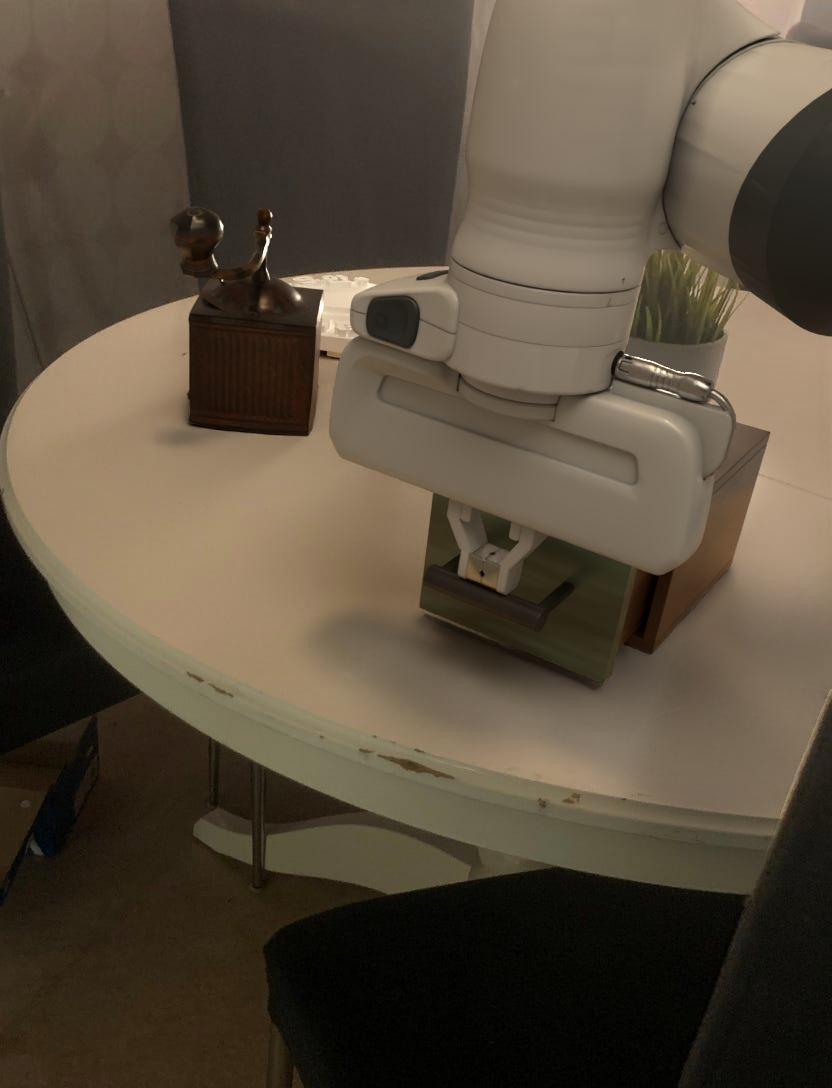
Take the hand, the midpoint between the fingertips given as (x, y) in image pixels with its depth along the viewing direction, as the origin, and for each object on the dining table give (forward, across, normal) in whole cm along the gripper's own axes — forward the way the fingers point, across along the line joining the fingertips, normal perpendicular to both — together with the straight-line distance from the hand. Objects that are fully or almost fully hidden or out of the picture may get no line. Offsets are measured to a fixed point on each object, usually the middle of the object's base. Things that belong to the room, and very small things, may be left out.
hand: (487, 582), depth 60 cm
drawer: (+6, 0, -8) cm, 10 cm away
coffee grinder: (+7, +34, -22) cm, 41 cm away
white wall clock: (+6, +42, -48) cm, 64 cm away
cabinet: (+6, 0, -18) cm, 19 cm away
